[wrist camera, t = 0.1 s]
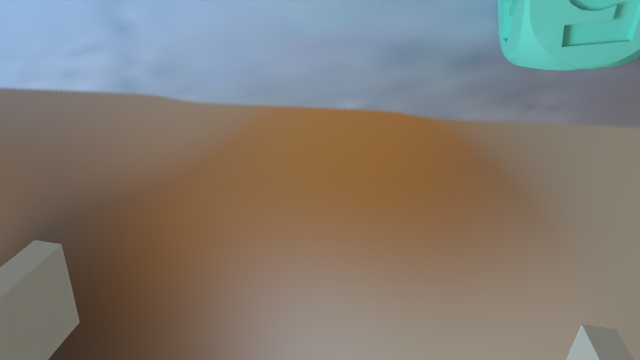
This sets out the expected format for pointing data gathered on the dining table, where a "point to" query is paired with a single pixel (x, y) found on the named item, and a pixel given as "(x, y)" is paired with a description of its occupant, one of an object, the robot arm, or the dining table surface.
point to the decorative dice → (569, 33)
